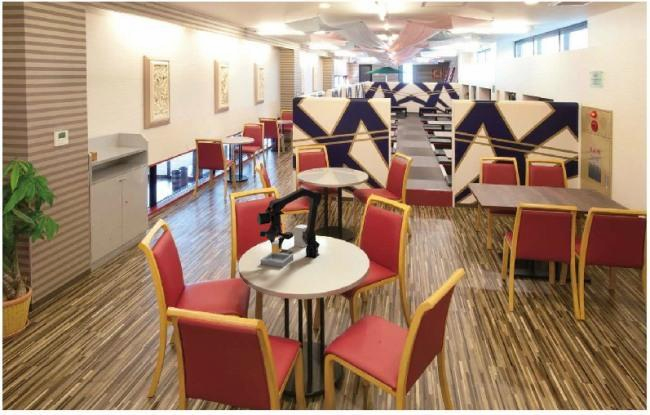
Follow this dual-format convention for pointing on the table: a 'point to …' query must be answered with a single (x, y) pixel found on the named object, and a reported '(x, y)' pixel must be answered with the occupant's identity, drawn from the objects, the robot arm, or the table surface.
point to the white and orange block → (276, 247)
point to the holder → (286, 251)
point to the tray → (276, 260)
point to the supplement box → (299, 235)
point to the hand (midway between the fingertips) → (276, 248)
